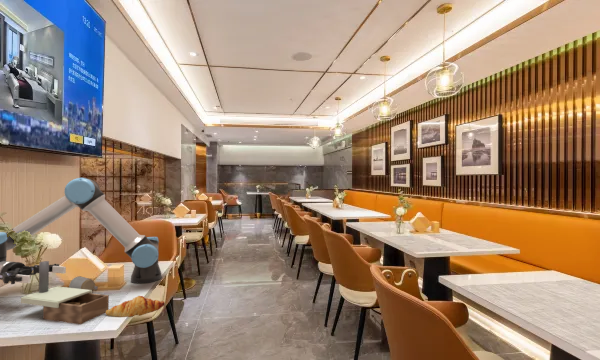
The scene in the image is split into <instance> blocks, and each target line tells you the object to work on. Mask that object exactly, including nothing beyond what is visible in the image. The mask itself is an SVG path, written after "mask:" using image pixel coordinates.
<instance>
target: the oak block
mask: <svg viewBox="0 0 600 360" xmlns="http://www.w3.org/2000/svg"><path fill="white" fill-rule="evenodd" d="M67 304H73V305H80V302H70V303H67Z"/></svg>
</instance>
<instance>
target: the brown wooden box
mask: <svg viewBox="0 0 600 360" xmlns="http://www.w3.org/2000/svg"><path fill="white" fill-rule="evenodd" d="M109 298H110V296H109V294H102V293H101V294H99V293H93V292H92V293H87V294H84V295H81V296H79V297H76V298H73V299H70V300H67V301H65V302H62V303H59V307H58V308H54V307H47V306H43V307H42V308H43V309H42V310H43V312H42V313H43V314H42V315H43V317H42V318H43V320H47V321H55V322H60V323H61V322H63V323H67V324H68V323H69V324H74V325H82V324H85V323H86V322H88V321H90V320H93V319H95V318H97V317H100V316H103V315H104V314H106V310H109V307H110V305H109V303H110V302H109V301H110V300H109ZM70 302H80V305H81V306H80V305H73V304H67V303H70ZM84 303H86V304H84ZM82 304H83V305H82Z"/></svg>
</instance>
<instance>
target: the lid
mask: <svg viewBox="0 0 600 360" xmlns="http://www.w3.org/2000/svg"><path fill="white" fill-rule="evenodd" d="M38 265H39V273H38V291H37V292H34V293H29V294H27V295H24V296H22V297H20V303H21V304H26V305H32V306H33V305H34V306H39V307H40V306H41V307H44V306H47V307H54V308H58V307H59V303H62V302H65V301H67V300H70V299H73V298H76V297H79V296H81V295H84V294H87V293H92V294H93V290H86V289H77V288H69V286H68V287H67V286H58V285H56V286H54V287H51V288H49V287H50V286H49V282H50V281H49V280H50V279H49V278H50V272H49V265H50V261H49V260H46V261H40V262H39V264H38Z"/></svg>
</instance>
